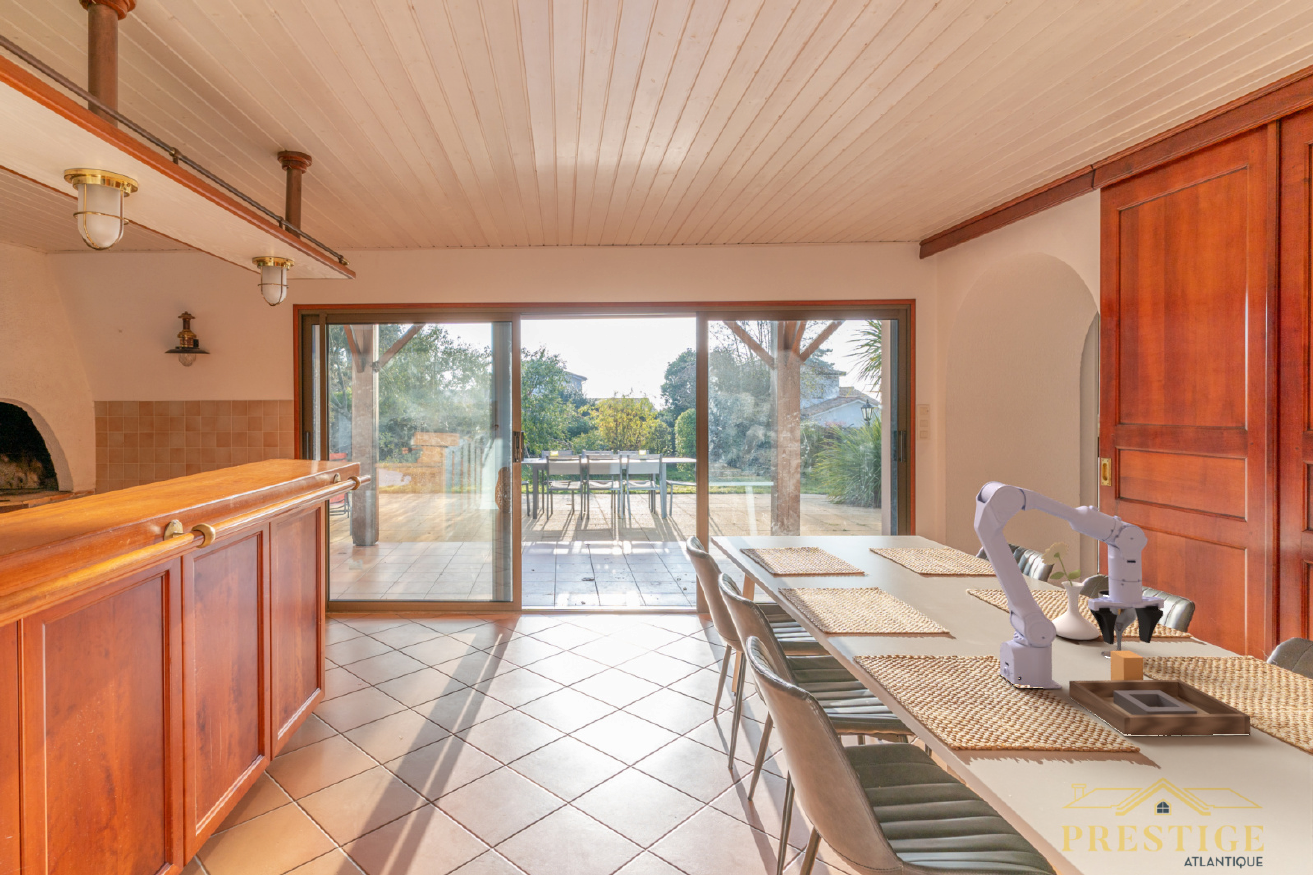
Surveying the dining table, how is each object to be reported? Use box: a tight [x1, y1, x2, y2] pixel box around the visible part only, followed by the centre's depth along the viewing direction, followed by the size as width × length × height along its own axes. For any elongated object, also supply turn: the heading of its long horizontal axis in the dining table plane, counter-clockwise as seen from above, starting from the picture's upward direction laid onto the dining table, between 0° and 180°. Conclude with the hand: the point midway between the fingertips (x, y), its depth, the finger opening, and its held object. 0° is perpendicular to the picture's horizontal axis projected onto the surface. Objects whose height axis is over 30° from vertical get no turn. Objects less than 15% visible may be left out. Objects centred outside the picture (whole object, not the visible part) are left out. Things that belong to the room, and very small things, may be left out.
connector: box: [1110, 650, 1144, 680], centre depth 134 cm, size 4×4×7 cm
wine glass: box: [1097, 588, 1137, 660], centre depth 151 cm, size 8×8×15 cm
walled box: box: [1068, 679, 1251, 737], centre depth 121 cm, size 22×16×4 cm
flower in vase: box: [1040, 541, 1101, 641], centre depth 165 cm, size 13×11×25 cm
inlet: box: [1113, 690, 1197, 715], centre depth 121 cm, size 9×9×2 cm
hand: (1126, 642), depth 134 cm, fingers open, 7 cm apart
